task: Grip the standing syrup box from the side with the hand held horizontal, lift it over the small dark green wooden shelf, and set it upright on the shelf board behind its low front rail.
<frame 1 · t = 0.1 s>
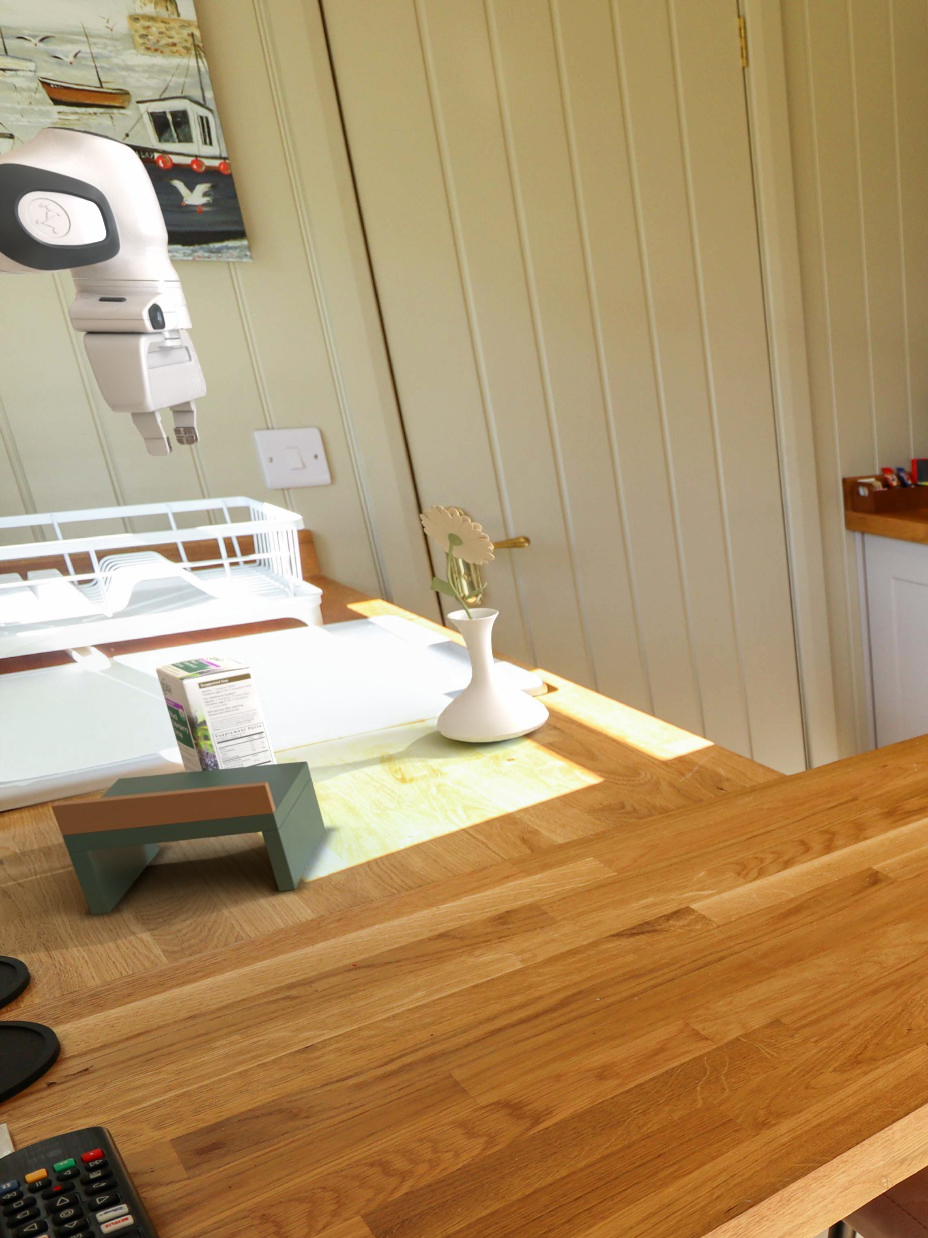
hand: (175, 449, 126), 29 cm above the breakfast bar, tool pointing down, fingers open, 8 cm apart
syrup box: (245, 814, 110), on the breakfast bar
shelf: (217, 870, 99), on the breakfast bar
flower in vase: (493, 733, 131), on the breakfast bar
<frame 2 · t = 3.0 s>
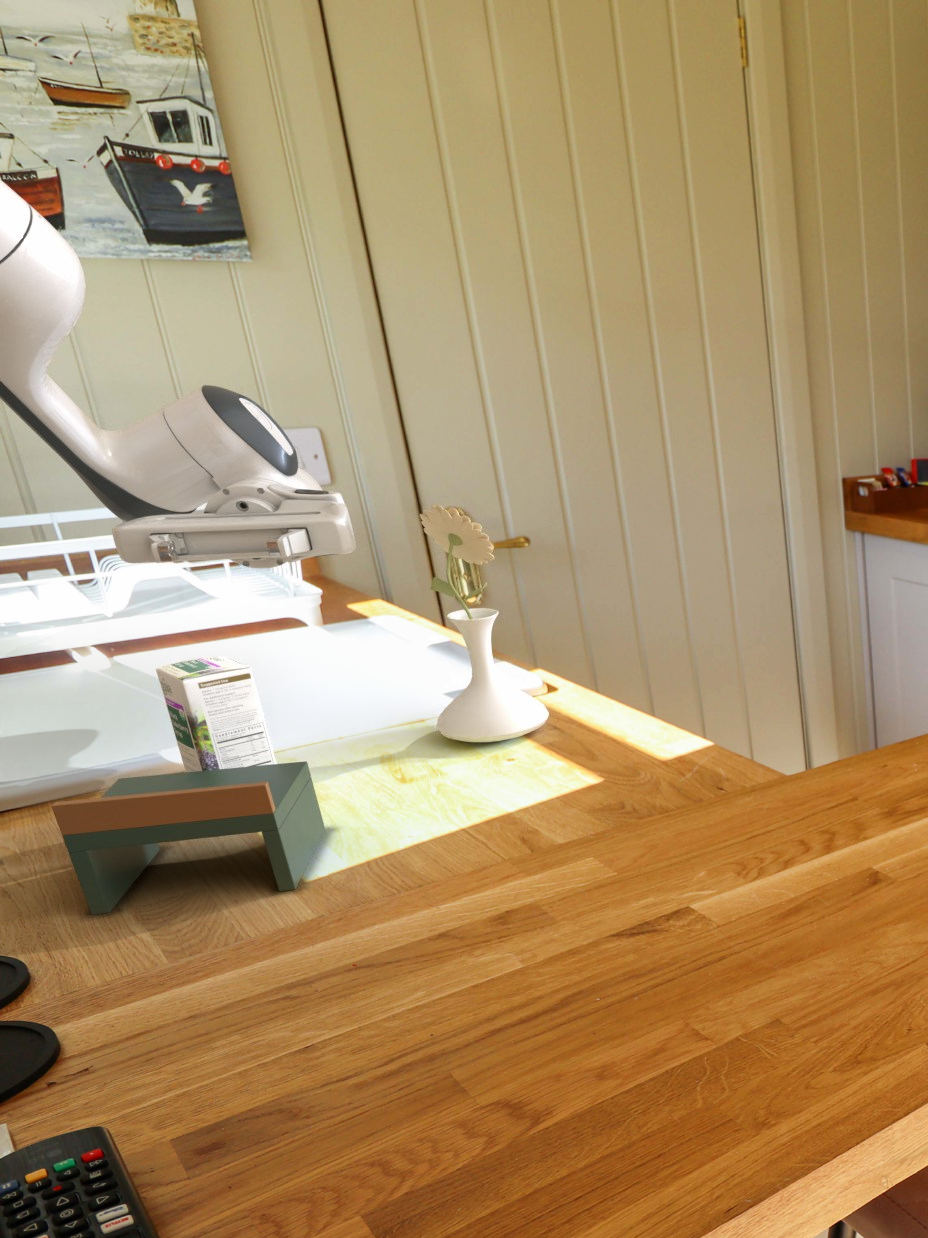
hand: (219, 551, 112), 22 cm above the breakfast bar, tool horizontal, fingers open, 8 cm apart
nothing on the breakfast bar moved.
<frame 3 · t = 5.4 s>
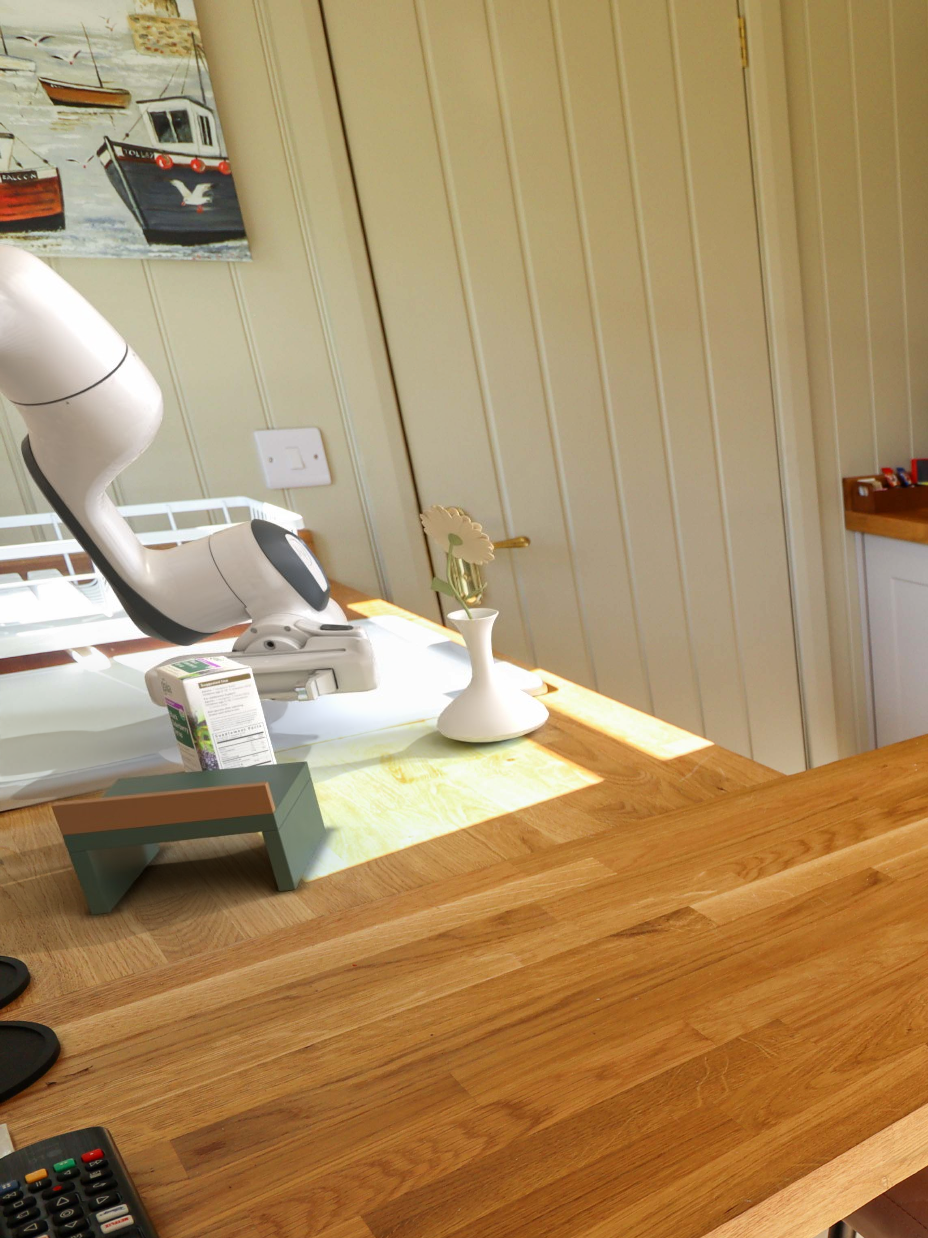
hand: (249, 697, 115), 8 cm above the breakfast bar, tool horizontal, fingers open, 8 cm apart
nothing on the breakfast bar moved.
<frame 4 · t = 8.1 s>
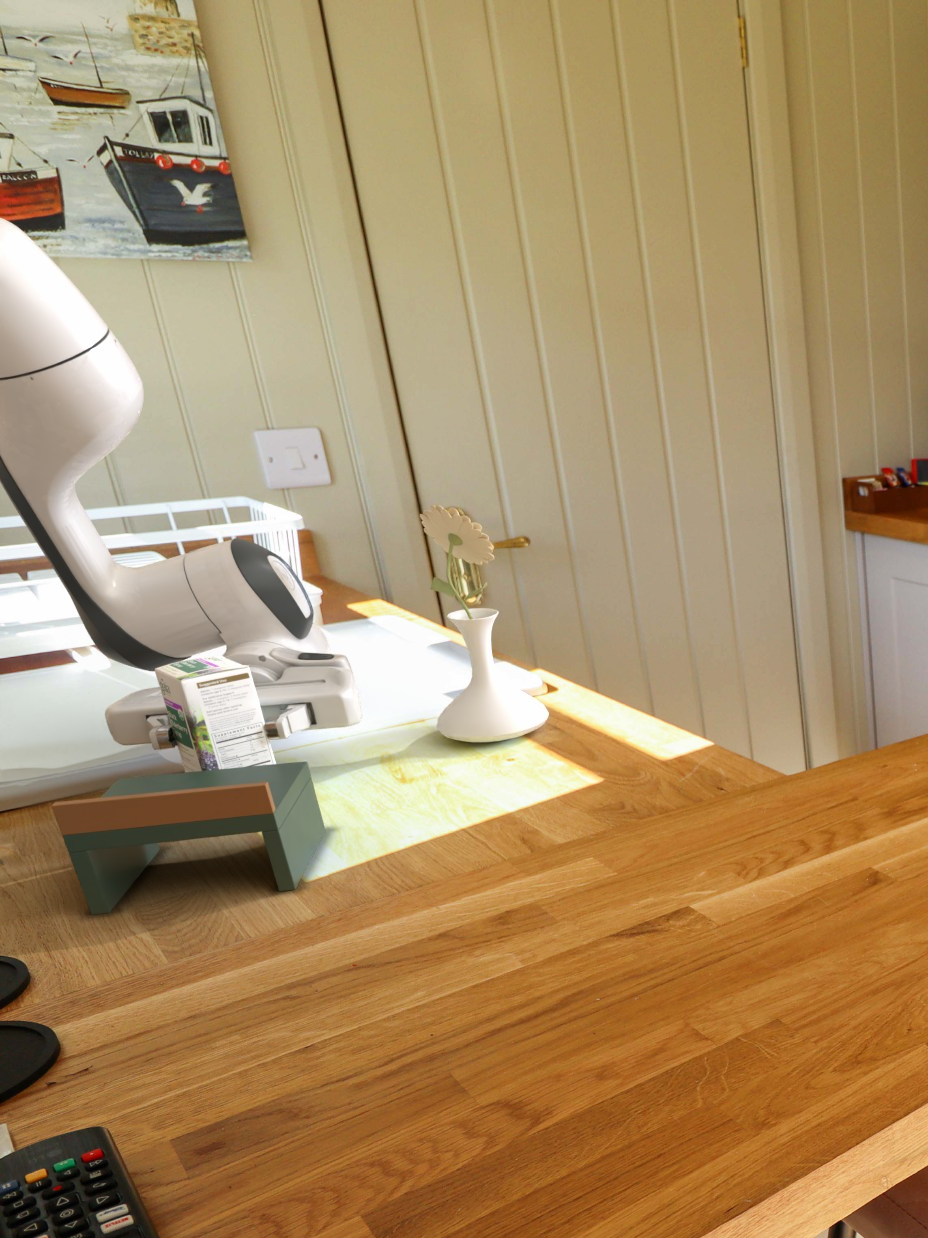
hand: (219, 736, 106), 8 cm above the breakfast bar, tool horizontal, fingers closed on syrup box, 7 cm apart
syrup box: (245, 813, 110), on the breakfast bar, touching gripper
everything else where it was.
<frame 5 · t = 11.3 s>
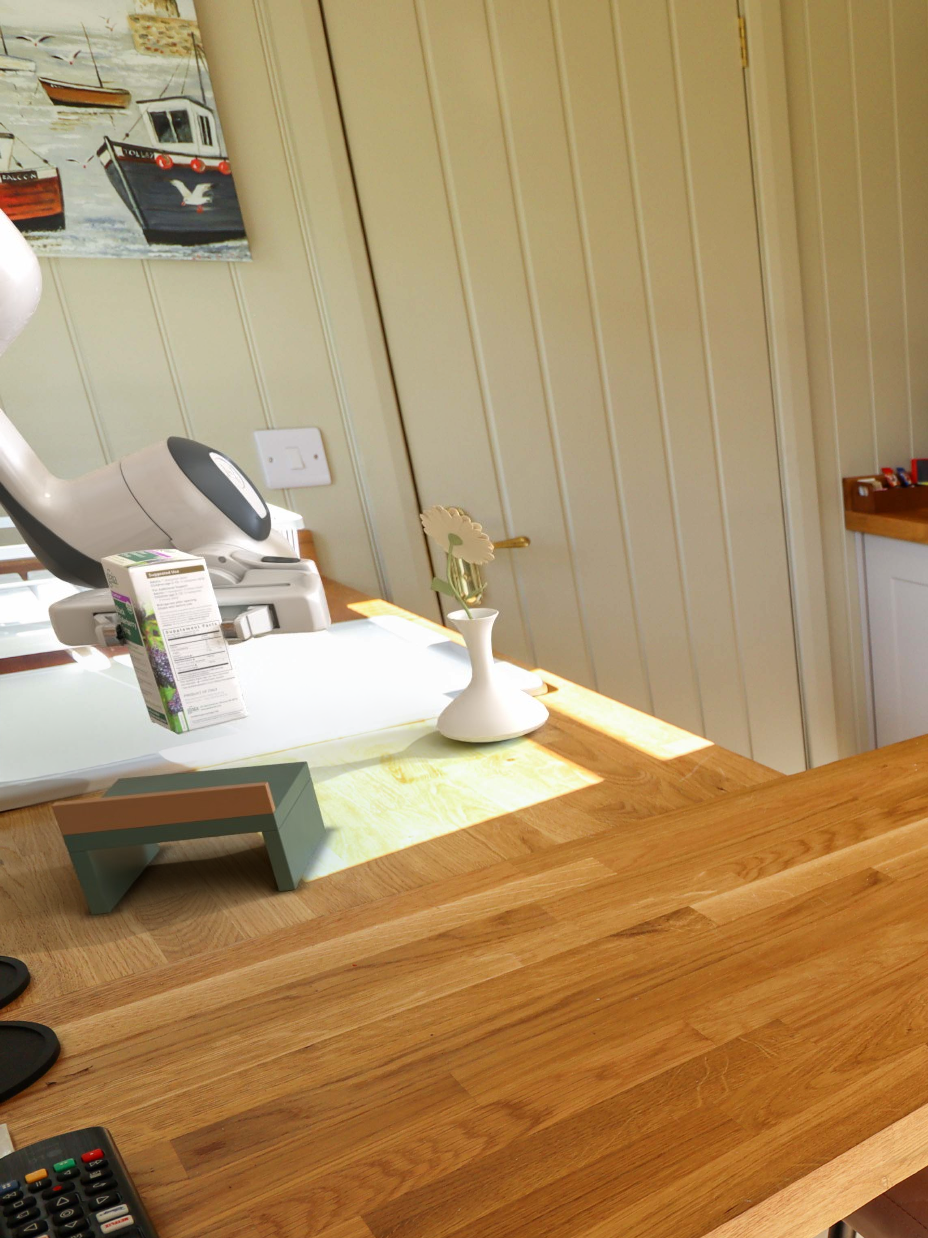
hand: (171, 634, 98), 19 cm above the breakfast bar, tool horizontal, fingers closed on syrup box, 7 cm apart
syrup box: (202, 722, 102), point 11 cm above the breakfast bar, touching gripper
everything else where it was.
when the fingers open (15 cm above the breakfast bar, at t = 14.4 s): syrup box stays where it is, resting on shelf.
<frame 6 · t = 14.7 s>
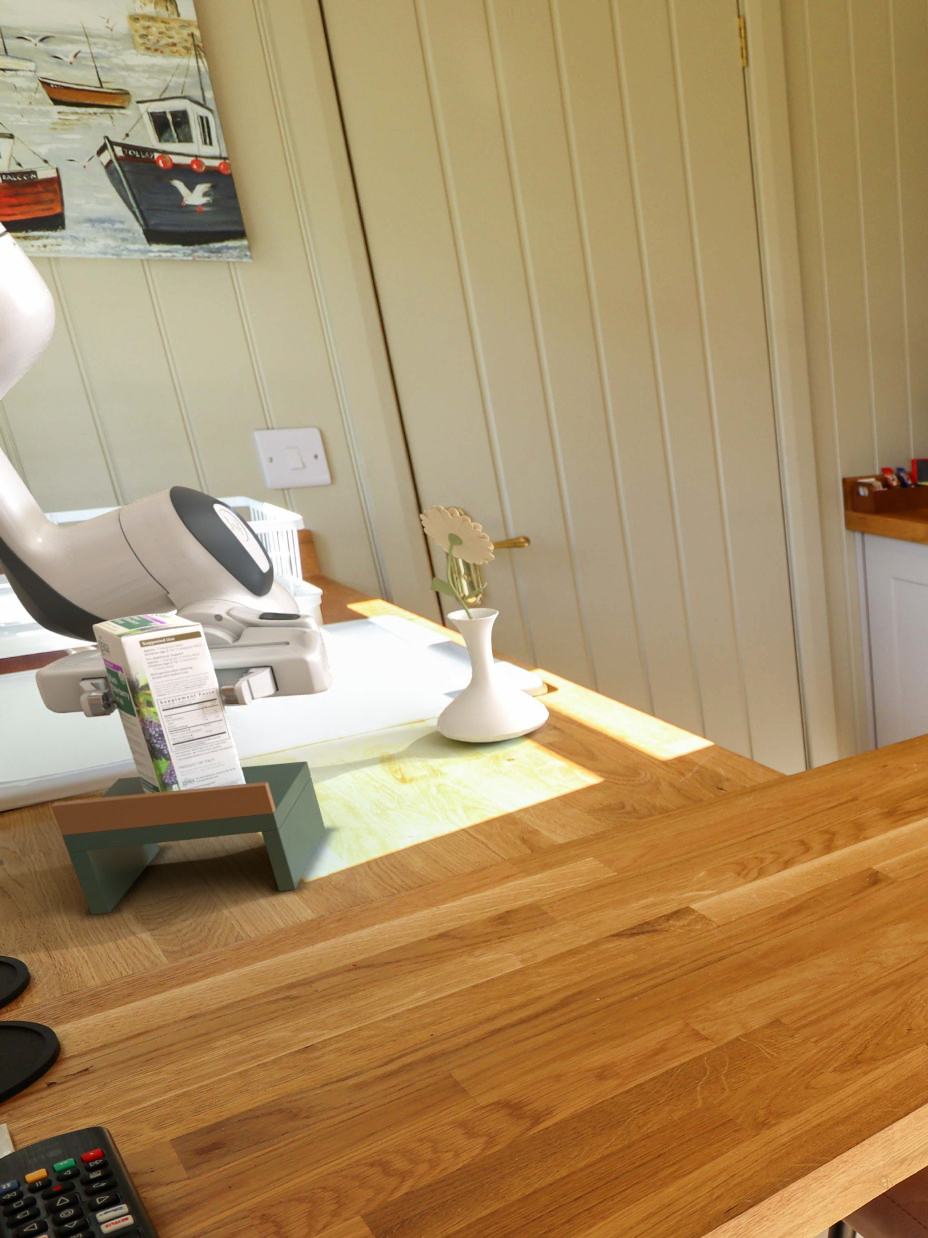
hand: (164, 702, 93), 15 cm above the breakfast bar, tool horizontal, fingers open, 8 cm apart
syrup box: (198, 792, 97), point 7 cm above the breakfast bar, touching shelf
everything else where it was.
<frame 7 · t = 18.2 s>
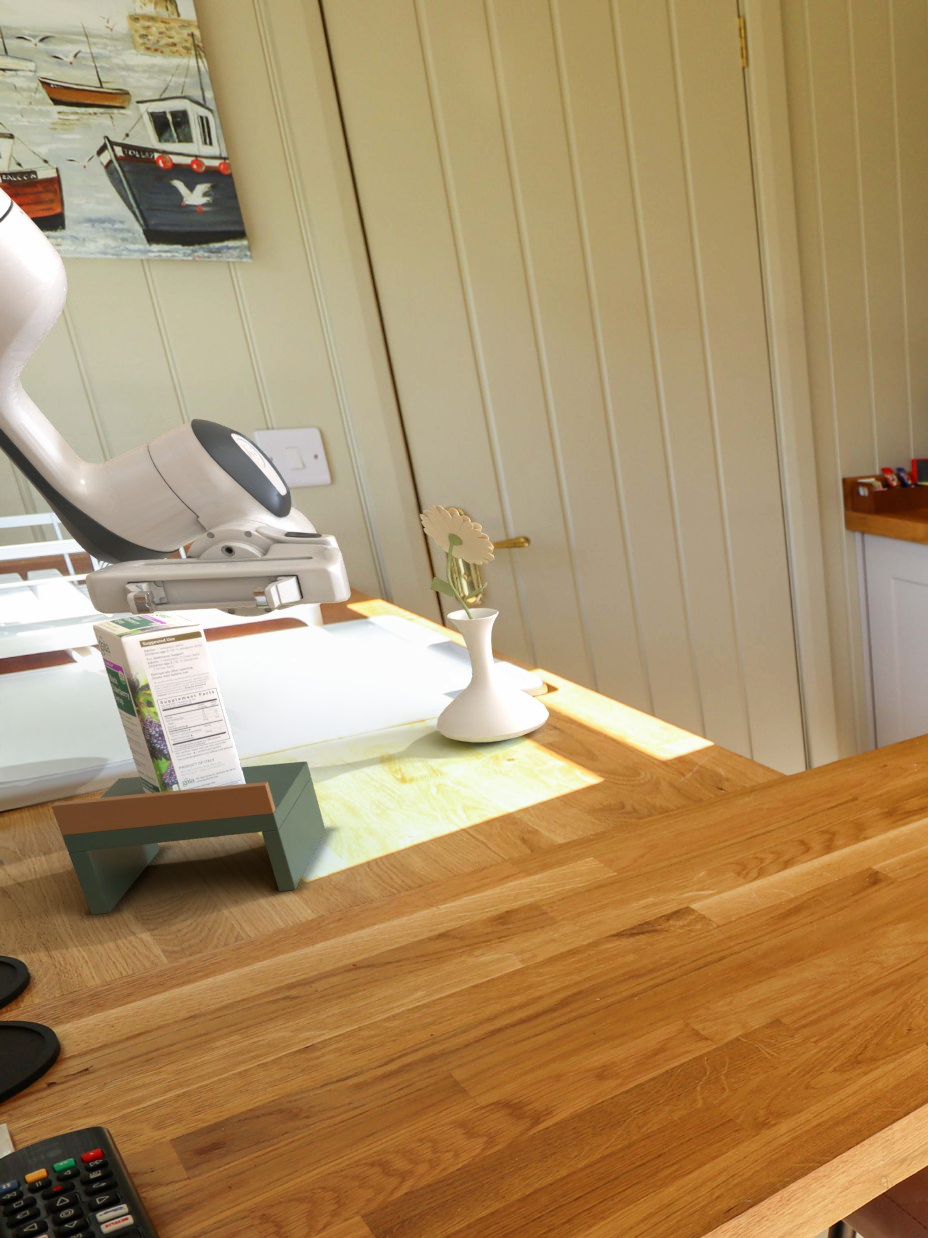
hand: (202, 602, 103), 20 cm above the breakfast bar, tool horizontal, fingers open, 8 cm apart
nothing on the breakfast bar moved.
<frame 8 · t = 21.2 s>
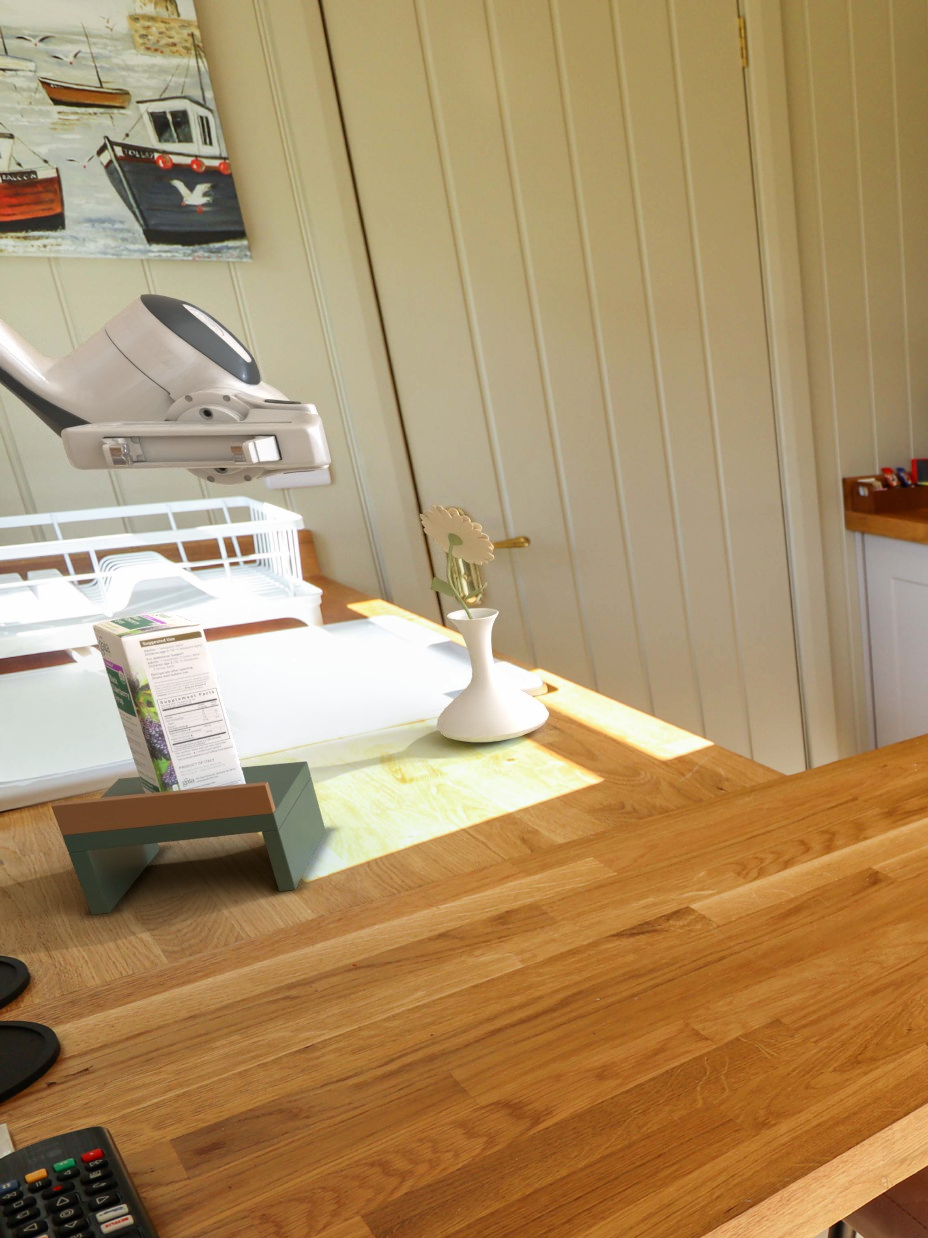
hand: (178, 455, 102), 32 cm above the breakfast bar, tool horizontal, fingers open, 8 cm apart
nothing on the breakfast bar moved.
at the end: syrup box inside the target area on the shelf (0.5 cm from its centre), point 6.8 cm above the shelf's base; syrup box tilted 0°; the gripper is holding nothing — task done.
